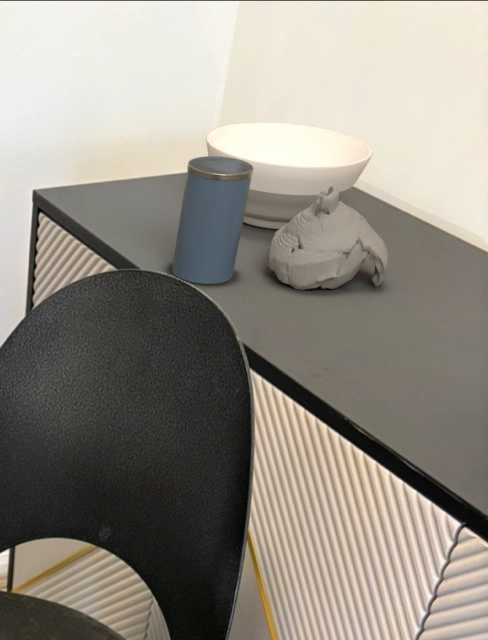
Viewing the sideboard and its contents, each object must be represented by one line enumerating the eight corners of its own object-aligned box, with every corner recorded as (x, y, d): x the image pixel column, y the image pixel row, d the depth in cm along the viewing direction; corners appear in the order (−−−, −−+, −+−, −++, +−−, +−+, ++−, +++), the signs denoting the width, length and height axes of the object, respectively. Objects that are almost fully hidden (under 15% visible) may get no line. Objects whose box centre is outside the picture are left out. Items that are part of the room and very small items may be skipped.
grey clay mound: (318, 327, 118) (320, 231, 110) (246, 289, 125) (243, 197, 118) (407, 278, 120) (415, 180, 112) (330, 244, 127) (333, 150, 120)
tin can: (209, 259, 125) (227, 153, 118) (245, 279, 121) (267, 170, 114) (159, 267, 123) (175, 159, 116) (194, 287, 119) (213, 177, 111)
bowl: (337, 253, 128) (356, 176, 122) (174, 225, 134) (186, 151, 128) (366, 207, 141) (385, 136, 135) (217, 183, 147) (229, 114, 142)
